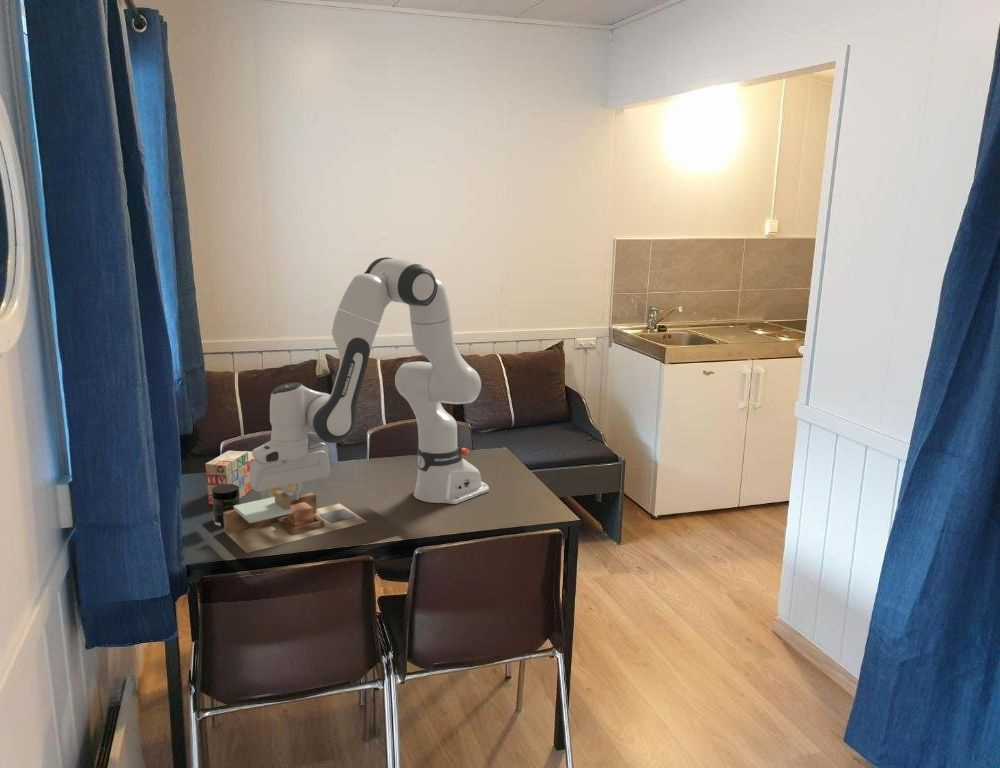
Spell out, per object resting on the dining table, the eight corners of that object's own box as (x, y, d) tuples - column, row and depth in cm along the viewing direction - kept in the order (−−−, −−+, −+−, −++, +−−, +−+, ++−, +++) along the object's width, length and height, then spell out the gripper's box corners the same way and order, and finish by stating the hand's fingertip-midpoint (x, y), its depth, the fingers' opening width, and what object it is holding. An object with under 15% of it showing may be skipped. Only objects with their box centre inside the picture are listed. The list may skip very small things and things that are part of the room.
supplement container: (247, 524, 205) (244, 486, 203) (228, 533, 199) (225, 494, 197) (227, 519, 208) (225, 482, 206) (208, 528, 202) (205, 490, 200)
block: (305, 520, 204) (304, 502, 203) (313, 526, 200) (313, 507, 199) (287, 524, 201) (286, 506, 200) (295, 530, 197) (294, 512, 196)
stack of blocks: (246, 479, 239) (244, 441, 236) (265, 481, 237) (263, 442, 235) (207, 504, 218) (204, 462, 215) (228, 506, 217) (225, 464, 214)
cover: (275, 500, 203) (275, 485, 202) (293, 513, 194) (292, 497, 194) (233, 509, 196) (232, 494, 195) (249, 523, 188) (248, 507, 187)
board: (339, 508, 216) (338, 485, 215) (367, 527, 204) (367, 502, 203) (224, 536, 197) (222, 511, 196) (247, 558, 185) (245, 532, 183)
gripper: (322, 438, 204) (324, 488, 207) (245, 451, 191) (248, 505, 194) (333, 444, 199) (335, 495, 202) (255, 458, 186) (258, 512, 189)
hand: (292, 500), depth 198 cm, fingers closed
